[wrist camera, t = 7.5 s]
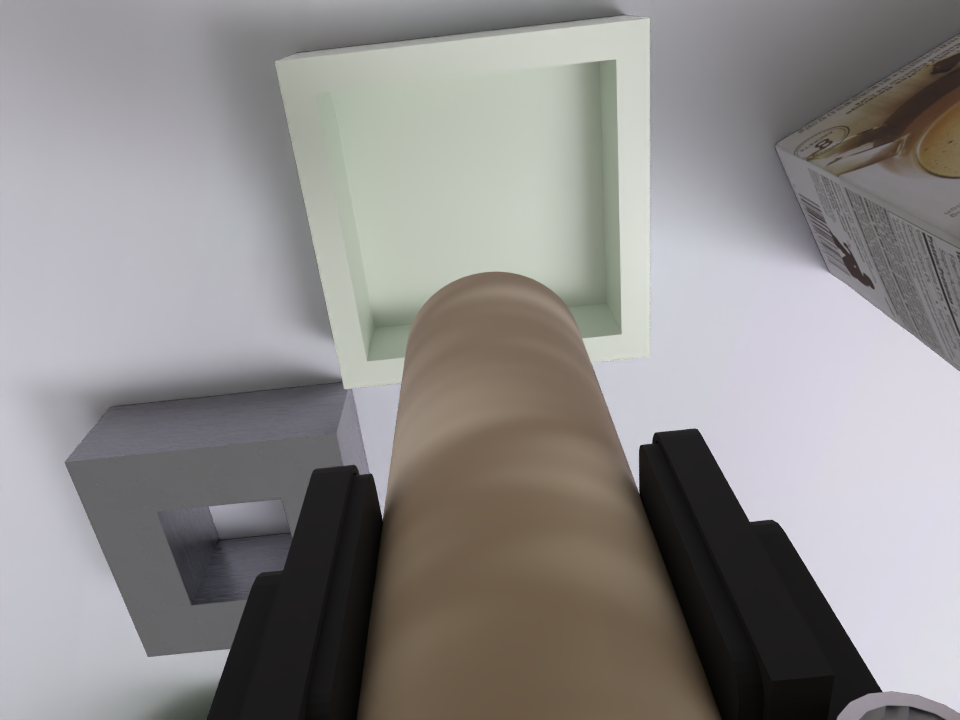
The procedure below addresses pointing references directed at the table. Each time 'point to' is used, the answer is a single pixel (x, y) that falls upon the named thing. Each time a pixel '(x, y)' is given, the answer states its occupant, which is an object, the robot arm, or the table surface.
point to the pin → (517, 532)
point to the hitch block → (204, 499)
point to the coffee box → (891, 194)
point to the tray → (477, 178)
